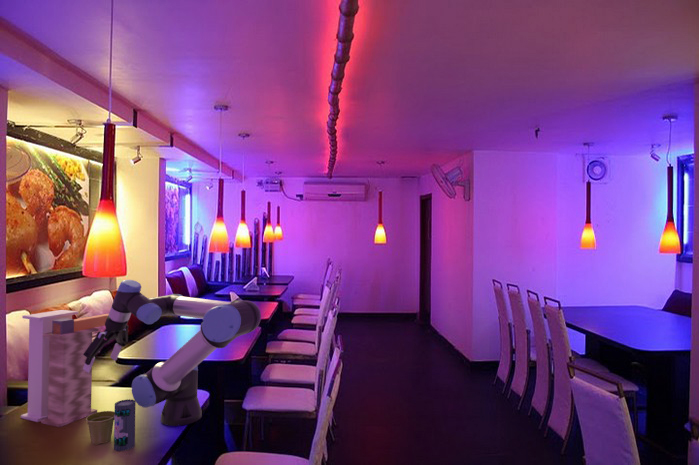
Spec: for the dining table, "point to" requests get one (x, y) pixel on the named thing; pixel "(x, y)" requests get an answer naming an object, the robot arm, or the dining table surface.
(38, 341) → the grey stand
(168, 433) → the dining table surface
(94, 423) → the plant pot
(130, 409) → the can
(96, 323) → the orange bar
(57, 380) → the birch stand
